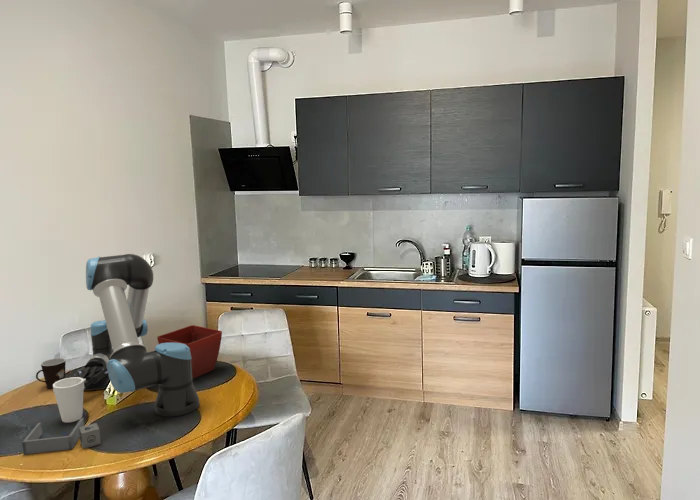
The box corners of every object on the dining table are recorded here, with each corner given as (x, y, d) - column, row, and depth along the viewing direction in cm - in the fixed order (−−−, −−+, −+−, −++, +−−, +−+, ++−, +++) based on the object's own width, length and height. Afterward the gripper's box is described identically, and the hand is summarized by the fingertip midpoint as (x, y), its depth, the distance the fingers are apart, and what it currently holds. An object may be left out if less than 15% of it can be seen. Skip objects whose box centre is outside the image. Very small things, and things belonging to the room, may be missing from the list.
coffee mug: (64, 379, 218) (61, 356, 217) (71, 385, 212) (68, 361, 211) (32, 388, 210) (29, 364, 209) (38, 394, 204) (35, 369, 203)
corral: (84, 429, 175) (83, 418, 174) (72, 449, 162) (70, 436, 162) (39, 434, 172) (38, 422, 172) (23, 454, 160) (22, 442, 159)
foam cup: (92, 416, 185) (89, 380, 183) (66, 427, 177) (62, 390, 175) (77, 410, 190) (73, 375, 188) (51, 420, 182) (47, 384, 180)
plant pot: (190, 384, 210) (187, 343, 208) (159, 375, 221) (155, 336, 218) (225, 369, 226) (223, 331, 224) (195, 361, 236) (192, 324, 234)
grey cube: (80, 442, 167) (79, 427, 166) (97, 437, 169) (96, 422, 169) (83, 449, 163) (81, 433, 162) (100, 443, 165) (99, 428, 165)
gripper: (114, 373, 217) (99, 396, 194) (80, 376, 215) (60, 400, 192) (113, 355, 216) (97, 377, 193) (78, 358, 213) (58, 380, 190)
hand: (79, 388), depth 192 cm, fingers closed
